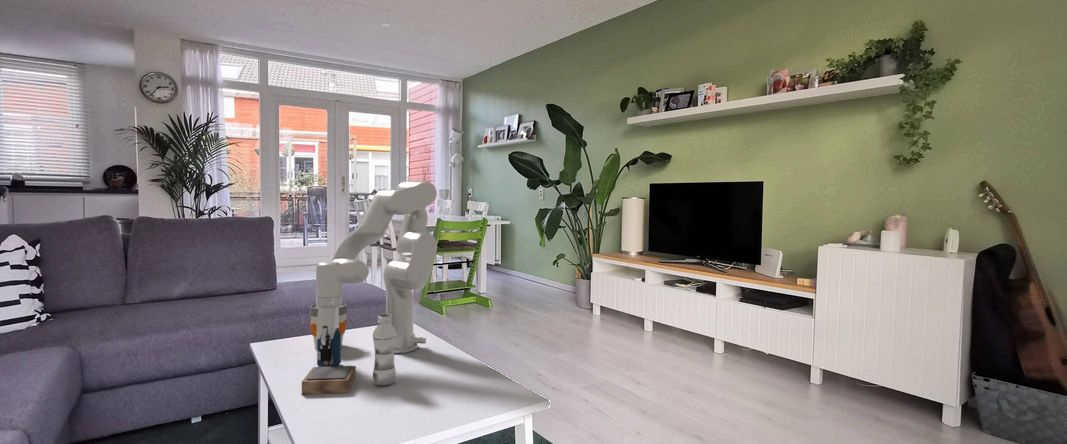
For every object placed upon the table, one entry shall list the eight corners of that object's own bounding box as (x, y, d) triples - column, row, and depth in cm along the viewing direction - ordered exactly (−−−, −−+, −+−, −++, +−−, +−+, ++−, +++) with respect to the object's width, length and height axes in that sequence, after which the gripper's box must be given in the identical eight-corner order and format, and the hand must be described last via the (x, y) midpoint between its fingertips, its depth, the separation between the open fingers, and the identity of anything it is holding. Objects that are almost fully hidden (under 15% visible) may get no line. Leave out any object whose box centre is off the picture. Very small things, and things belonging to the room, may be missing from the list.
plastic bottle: (400, 381, 151) (401, 314, 150) (386, 389, 145) (387, 319, 144) (381, 378, 153) (382, 312, 152) (367, 386, 147) (368, 317, 146)
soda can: (333, 361, 168) (333, 325, 167) (344, 366, 163) (345, 329, 163) (312, 367, 162) (312, 329, 162) (324, 372, 158) (324, 333, 157)
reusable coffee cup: (334, 340, 192) (334, 300, 192) (354, 346, 185) (354, 305, 184) (302, 347, 182) (302, 305, 181) (322, 354, 175) (322, 311, 174)
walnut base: (355, 377, 153) (355, 364, 153) (347, 393, 142) (347, 378, 141) (313, 379, 152) (313, 365, 151) (301, 394, 140) (301, 380, 140)
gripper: (323, 296, 170) (323, 349, 170) (309, 307, 153) (308, 366, 153) (347, 295, 171) (346, 348, 172) (335, 306, 154) (335, 365, 155)
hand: (328, 356), depth 163 cm, fingers closed on soda can, 7 cm apart
